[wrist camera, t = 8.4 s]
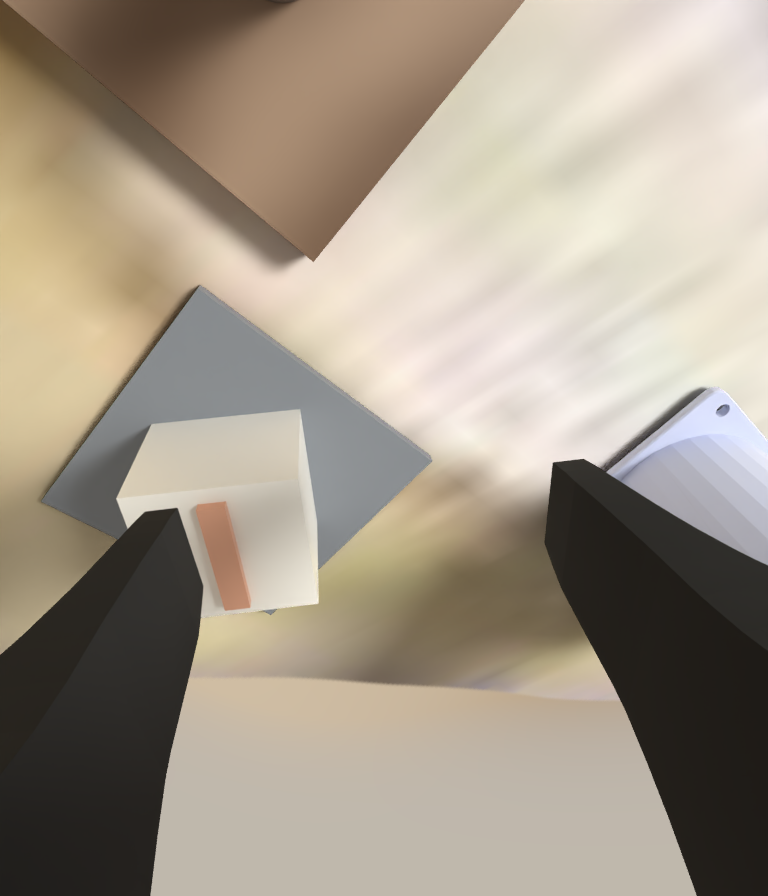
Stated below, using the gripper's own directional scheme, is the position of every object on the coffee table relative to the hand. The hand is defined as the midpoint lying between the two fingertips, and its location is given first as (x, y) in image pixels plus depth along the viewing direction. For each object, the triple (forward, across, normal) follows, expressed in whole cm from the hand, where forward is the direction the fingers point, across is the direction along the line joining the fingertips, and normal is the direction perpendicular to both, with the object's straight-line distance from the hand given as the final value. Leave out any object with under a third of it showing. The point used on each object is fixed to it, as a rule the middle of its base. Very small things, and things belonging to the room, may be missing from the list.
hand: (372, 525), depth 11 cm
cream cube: (+9, +4, +4) cm, 11 cm away
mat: (+9, +4, +5) cm, 11 cm away
